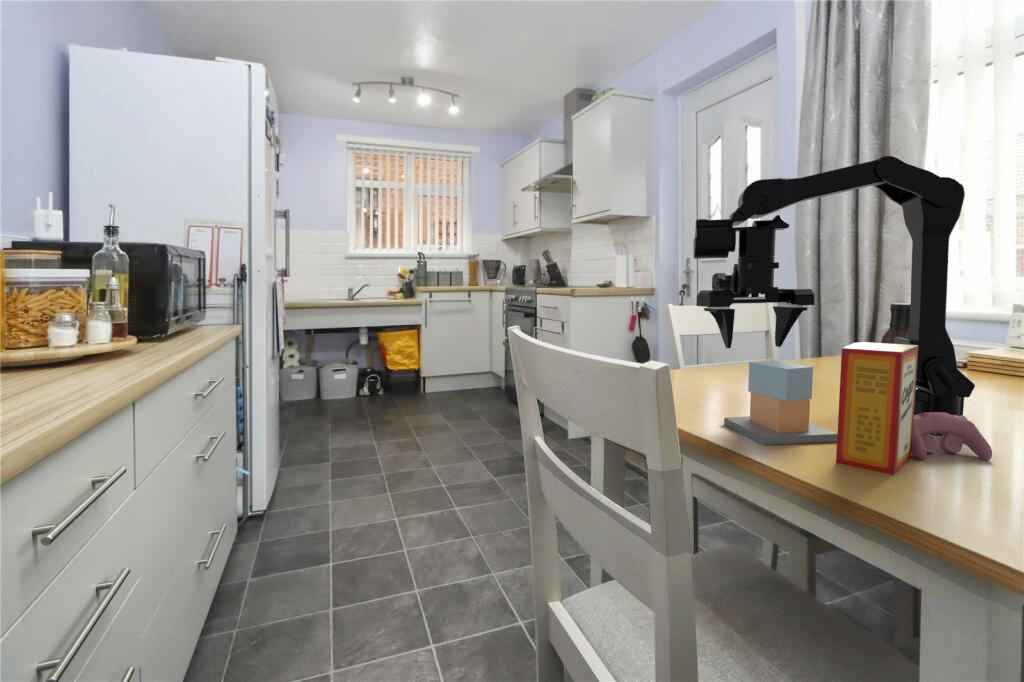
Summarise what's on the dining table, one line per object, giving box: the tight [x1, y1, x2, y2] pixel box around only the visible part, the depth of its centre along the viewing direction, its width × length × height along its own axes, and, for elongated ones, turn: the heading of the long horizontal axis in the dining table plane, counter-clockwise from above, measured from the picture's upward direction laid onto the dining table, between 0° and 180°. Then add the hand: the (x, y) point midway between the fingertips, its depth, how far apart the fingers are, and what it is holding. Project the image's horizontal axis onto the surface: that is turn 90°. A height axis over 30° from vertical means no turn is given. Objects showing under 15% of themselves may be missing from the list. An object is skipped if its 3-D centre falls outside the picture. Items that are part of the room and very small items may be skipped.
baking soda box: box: [835, 341, 918, 475], centre depth 71 cm, size 10×6×16 cm
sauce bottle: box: [880, 302, 910, 344], centre depth 101 cm, size 6×6×20 cm
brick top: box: [747, 359, 814, 401], centre depth 85 cm, size 5×8×5 cm, turn 17°
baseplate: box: [723, 415, 838, 446], centre depth 86 cm, size 12×12×1 cm
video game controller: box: [911, 412, 993, 461], centre depth 74 cm, size 10×5×7 cm, turn 85°
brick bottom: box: [749, 392, 811, 433], centre depth 86 cm, size 5×8×5 cm, turn 6°
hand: (753, 347), depth 92 cm, fingers open, 9 cm apart
